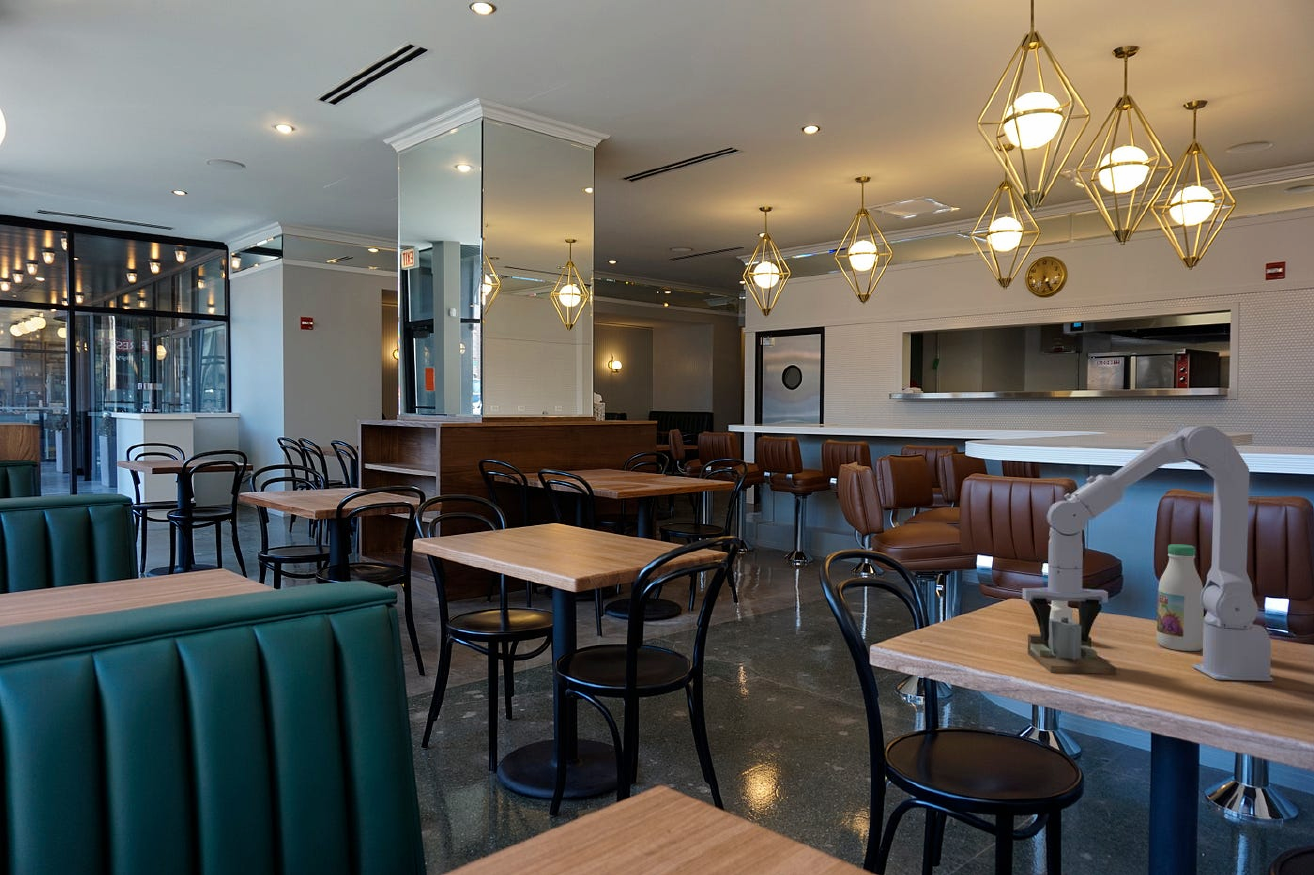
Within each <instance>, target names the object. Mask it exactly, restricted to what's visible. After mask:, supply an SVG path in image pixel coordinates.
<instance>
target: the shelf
mask: <svg viewBox="0 0 1314 875" xmlns="http://www.w3.org/2000/svg"><path fill="white" fill-rule="evenodd" d="M1027 654H1028V655H1029V656H1031V657H1032V658H1033V659H1034V660H1035V661H1036V660H1037V661H1036V662H1037V663H1039V664H1041V665H1042V667H1043V668H1045V669H1046V670H1047V671H1049V673H1062V674H1063V673H1065V674H1089V673H1101V674H1100V675H1117V667H1116V666H1114V665H1113V664H1111V662H1108V661H1107V660H1106V659H1104V658H1103V657H1101V656H1099V655H1098V651H1097V650H1095V649H1094V648H1092V637H1091V636H1090V635H1089V636H1088V641H1087V642H1084V641H1082V640H1081V659H1075V660H1073V659H1072V658H1057V657H1056V656H1055V655H1053V654H1052V653H1051V650H1050V649H1049V648H1048V641H1046V640H1043V639H1042V638H1041V634H1040V633H1039V634H1038V633H1037V634H1036V633H1032V634H1031V633H1027Z"/></svg>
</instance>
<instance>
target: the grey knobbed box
mask: <svg viewBox="0 0 1314 875" xmlns="http://www.w3.org/2000/svg"><path fill="white" fill-rule="evenodd" d="M1048 648H1049V649H1050V650H1051V653H1052V654H1053V655H1055V656H1056V657H1057V658H1072V659H1073V660H1075V659H1081V625H1079V623H1077V622H1075V621H1074V620H1071V619H1068V618H1066V617H1061V619H1049V641H1048Z"/></svg>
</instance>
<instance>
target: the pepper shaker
mask: <svg viewBox="0 0 1314 875" xmlns="http://www.w3.org/2000/svg"><path fill="white" fill-rule="evenodd" d="M1068 602H1069V601H1055V600H1051V604H1049V605H1050V606H1051V612H1050V619H1061V617H1066V618H1068V619H1071V620H1073V619H1074V618H1073V616H1074V615H1073V609H1072V608H1071V607H1070V606H1069V603H1068ZM1073 621H1074V620H1073Z"/></svg>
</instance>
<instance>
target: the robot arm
mask: <svg viewBox="0 0 1314 875" xmlns="http://www.w3.org/2000/svg"><path fill="white" fill-rule="evenodd" d="M1187 461H1188V462H1190V463H1193V464H1195V465H1197V466H1199V468H1201V470H1203V471H1204V472H1205V473H1207V474H1208V475H1209V476H1210V477H1211V478H1213V506H1212V508H1213V511H1212V512H1213V513H1212V516H1213V517H1212V537H1211V538H1212V541H1211V542H1212V543H1211V567H1210V568H1209V570H1208V572H1207V575H1206V582H1205V585H1204V587H1203V590H1202V592H1201V596H1200V599H1201V603H1202V605H1203V607H1204V610H1205V611H1206V614H1205V616H1204V618H1203V647H1202V663H1192V664H1191V667H1192V668H1194V669H1196V670H1198V671H1200V672H1201V673H1203V674H1205V675H1207V676H1209V677H1210V678H1213V679H1214V680H1218V681H1219V680H1223V681H1224V680H1226V681H1228V680H1229V681H1254V682H1255V681H1257V682H1258V681H1259V682H1260V681H1262V682H1273V681H1274V679H1273V677H1271V660H1272V658H1271V654H1272V651H1271V650H1272V643H1271V638H1270V635H1269V633H1268V631H1267V630H1266V629H1265V627H1263V626H1262V625H1259V624H1254V621H1255V620H1256V618H1257V616H1258V614H1259V605H1258V603H1257V602H1256V599H1255V598H1254V595H1253V584H1252V582H1251V579H1250V577H1249V575H1248V572H1247V564H1248V537H1249V536H1248V533H1249V499H1250V498H1249V497H1250V469H1249V466H1248V464H1247V463H1246V461H1245V460H1244V458H1243V456H1241V454H1240V452H1239V451H1238V450H1237V448H1236V446H1235V445H1234V442H1233V439H1232V437H1230V436H1228V435H1227V434H1226V433H1224V432H1223V431H1221V430H1220V429H1219V428H1217V427H1215V426H1211V425H1200V426H1199V425H1195V424H1194V425H1193V424H1191V425H1190V424H1189V425H1184V426H1181V427H1180V428H1178V429H1176V431H1175V432H1174V433H1169V434H1167V435H1165V436H1164V437H1162V438H1160V439H1159V440H1157V441H1155V442H1154V443H1153V444H1152V445H1150V446H1149V447H1148V448H1146V449H1145V450H1143V452H1141V453H1140V454H1139V455H1136V456H1135V457H1134V458H1132V460H1130V461H1129V462H1127V463H1126V464H1125V465H1124V466H1122V467H1121V468H1119V469H1118V470H1117V471H1115V472H1113V473H1112V474H1111V475H1108V474H1099V475H1097V476H1093V475H1091V476H1089V477H1088V478H1086V483H1085V484H1083V486H1081V487H1079V488H1078V489H1076V490H1075V491H1074V492H1072V493H1071V494H1070V492H1068V493H1066V494H1065V495H1064V496H1063V497H1064V499H1066V500H1059V501H1055V502H1054V503H1053V504H1052V505H1051V506H1049V510H1048V512H1047V514H1046V520H1047V523H1048V524H1049V525H1050V527H1049V534H1048V536H1049V539H1048V553H1047V554H1048V555H1047V556H1048V563H1047V564H1048V566H1047V570H1048V572H1047V586H1046V587H1045V586H1044V587H1032V588H1031V587H1029V588H1028V587H1027V588H1026V587H1025V588H1023V587H1022V597H1021V598H1022V599H1023V600H1024V601H1026V602H1027V601H1028V603H1029V605H1030V606H1031V609H1032V612H1033V613H1034V616H1035V619H1036V622H1037V625H1038V628H1039V634H1041V638H1042V639H1043V640H1046V641H1049V619H1050V612H1051V606H1050V605H1051V604H1049V601H1052V600H1055V601H1068V602H1077V607H1078V608H1077V609H1078V610H1077V611H1078V618H1079V619H1078V620H1079V621H1078V624H1079V625H1081V640H1082V641H1084V642H1087V641H1088V636H1089V637H1090V633H1091V629H1092V627H1093V624H1094V623H1095V620H1096V618H1097V617H1098V615H1099V614H1100V612H1102V607H1103V606H1102V604H1101V603H1109V592H1108V591H1106V590H1104V589H1091V588H1083V565H1084V564H1083V562H1084V560H1083V559H1084V557H1083V555H1084V554H1083V553H1084V543H1083V531H1084V530H1085V528H1086V527H1087V523H1088V521H1090V520H1094V519H1095V518H1097V517H1098V516H1100V515H1101V514H1103V513H1104V512H1106V511H1107V510H1109V509H1110V508H1112V507H1113V506H1115V505H1116V504H1118V503H1119V502H1121V501H1122V499H1123V494H1124V491H1125V490H1126V489H1127V488H1128V487H1130V486H1132V485H1134V484H1135V483H1136V482H1138V481H1140V480H1141V479H1143V478H1145V477H1146V476H1148V475H1150V474H1151V473H1152V472H1154V471H1155V470H1158V469H1159V468H1161V467H1162V466H1165V465H1168V464H1169V465H1170V464H1177V463H1178V464H1180V463H1187Z"/></svg>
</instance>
